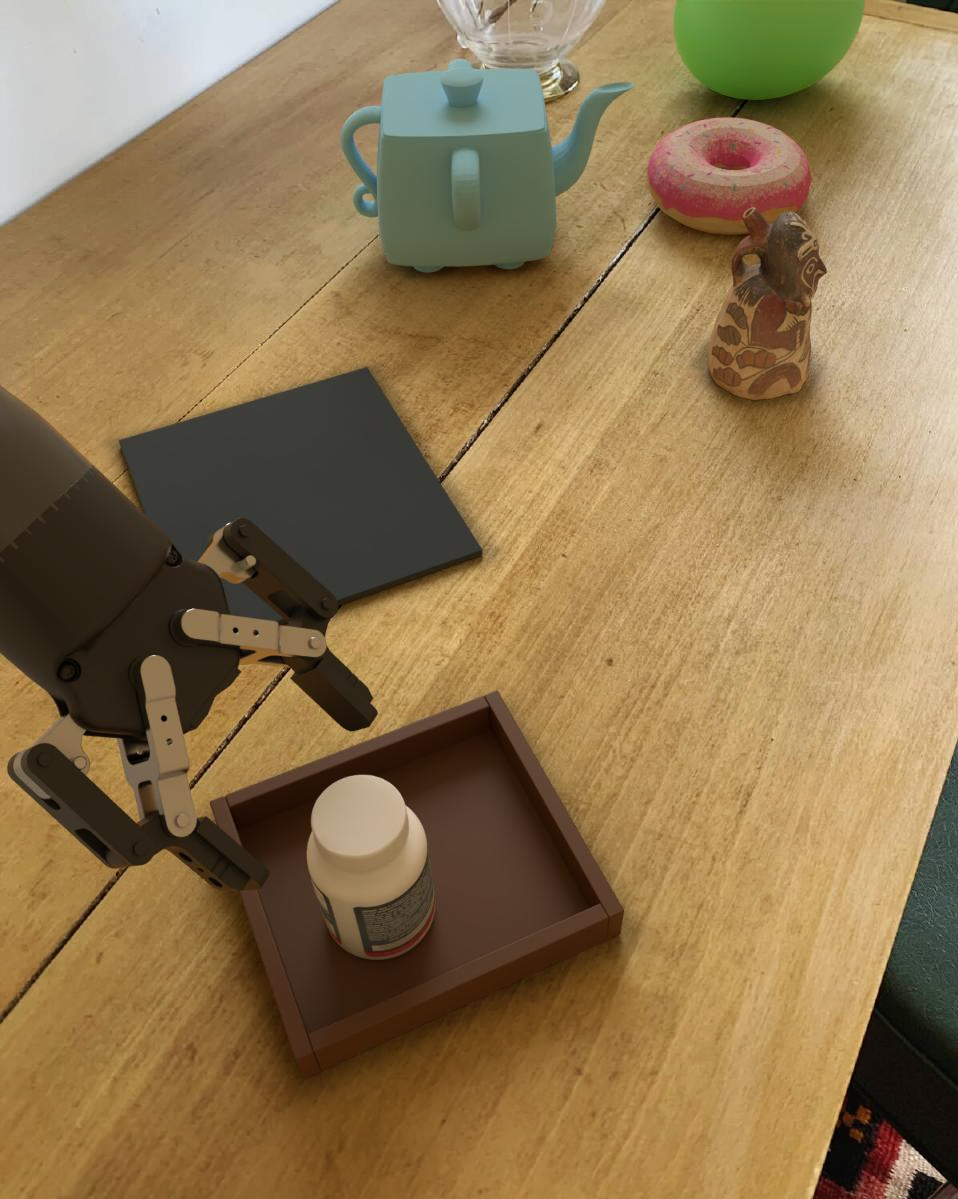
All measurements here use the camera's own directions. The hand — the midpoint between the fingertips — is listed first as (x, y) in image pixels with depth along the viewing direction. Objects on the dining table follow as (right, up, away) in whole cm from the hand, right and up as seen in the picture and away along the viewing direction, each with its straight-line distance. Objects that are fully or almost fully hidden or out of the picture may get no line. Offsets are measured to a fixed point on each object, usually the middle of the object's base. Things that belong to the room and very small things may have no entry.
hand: (313, 798), depth 47 cm
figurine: (+27, +25, +32) cm, 49 cm away
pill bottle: (+2, -6, +6) cm, 9 cm away
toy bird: (+33, +58, +60) cm, 90 cm away
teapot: (+8, +38, +44) cm, 59 cm away
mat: (-5, +15, +25) cm, 29 cm away
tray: (+4, -5, +7) cm, 9 cm away
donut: (+28, +42, +47) cm, 68 cm away
